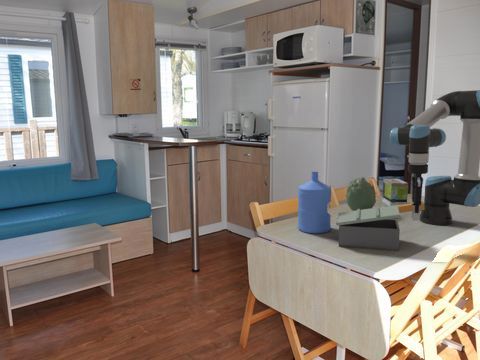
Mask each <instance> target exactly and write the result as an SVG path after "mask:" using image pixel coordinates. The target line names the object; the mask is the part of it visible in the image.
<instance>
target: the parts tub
mask: <svg viewBox="0 0 480 360" xmlns="http://www.w3.org/2000/svg"><path fill="white" fill-rule="evenodd" d="M400 233H401V231H400V225H399V221H398V218H391V219H384V220H376V221H368V222H361V223H353V224H346V225H338V247H341V248H356V249H369V250H384V251H393V250H394V251H396V252H399V250H400V249H399V247H400Z"/></svg>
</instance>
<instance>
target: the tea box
mask: <svg viewBox="0 0 480 360" xmlns="http://www.w3.org/2000/svg"><path fill="white" fill-rule="evenodd" d="M382 183H383V184H382V196H381V197H382V201H381V202H382V203H383V204H384V205H385V206H392V205H397V206H398V205H402V204H408V194H409V193H408V191H409V183H408V182H406V181H404V180H402V179H400V178H383V182H382Z"/></svg>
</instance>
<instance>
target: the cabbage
mask: <svg viewBox="0 0 480 360" xmlns="http://www.w3.org/2000/svg"><path fill="white" fill-rule="evenodd" d="M345 199H346V203H347V206H348V207H349V209H350V210H351V211H357V209H360V210H364V209H371V208H374V207H375V206H376V205H375V204H376V202H377V199H376V190H375V186H374V185H372V184H371V183H370V182H368V181H367V179H366V178H365V177H364V176H363V177H358V178H353V179H350V180H349V182H348V186H347V188H346V192H345Z"/></svg>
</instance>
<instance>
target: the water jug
mask: <svg viewBox="0 0 480 360" xmlns="http://www.w3.org/2000/svg"><path fill="white" fill-rule="evenodd" d="M310 173H311V180H309V181H307V182H304V183H303V184H300V185H299V186H298V191H297V197H298V198H297V199H298V200H297V201H298V203H297V204H298V205H297V206H298V207H297V212H298V213H297V214H298V215H297V220H298V223H297V229H298V230H299V231H301V232H303V233H307V234H324V233H327V232H329V231H331V228H332V227H331V226H332V225H331V218H332V216H331V214H330V213H329V212H328V205H329V203H330V202H331V200H332V188H331V187H332V186H330V185H328V184H327V183H324V182H321V181H320V180H319V171H311V172H310Z"/></svg>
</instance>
